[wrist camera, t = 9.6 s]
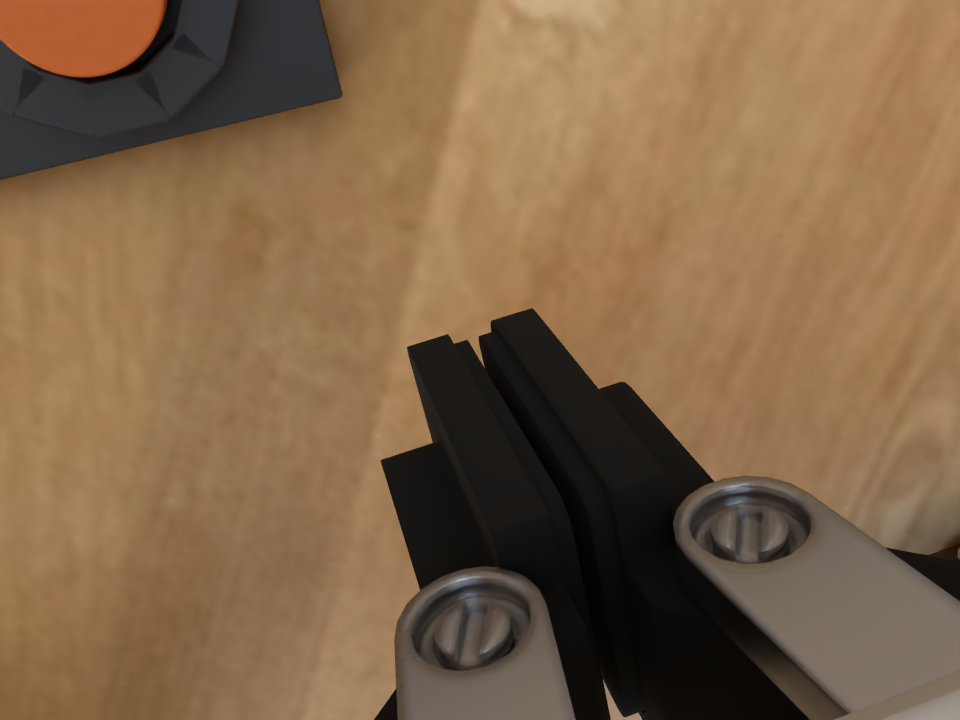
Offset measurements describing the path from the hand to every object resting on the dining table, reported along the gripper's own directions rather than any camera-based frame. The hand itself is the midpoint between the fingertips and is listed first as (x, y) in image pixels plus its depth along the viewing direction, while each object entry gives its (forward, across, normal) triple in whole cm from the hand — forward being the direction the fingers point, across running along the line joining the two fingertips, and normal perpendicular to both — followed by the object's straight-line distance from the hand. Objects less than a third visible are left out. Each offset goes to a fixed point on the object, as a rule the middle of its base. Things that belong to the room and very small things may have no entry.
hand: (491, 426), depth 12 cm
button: (+13, +5, -6) cm, 15 cm away
